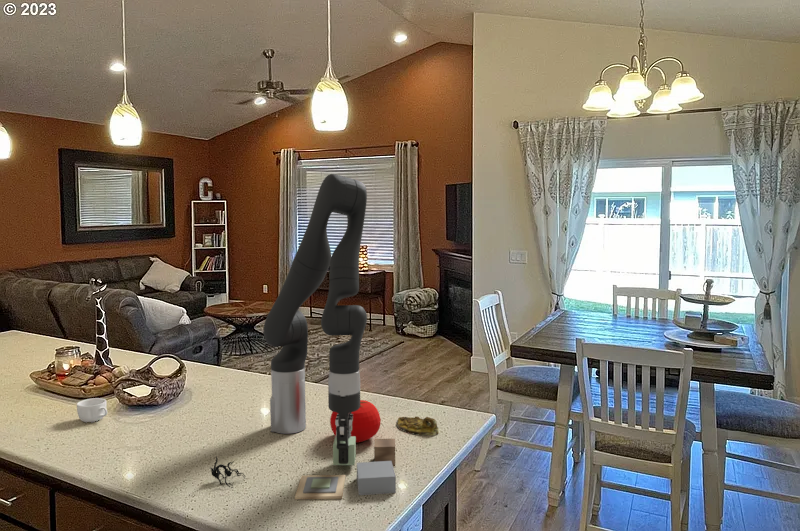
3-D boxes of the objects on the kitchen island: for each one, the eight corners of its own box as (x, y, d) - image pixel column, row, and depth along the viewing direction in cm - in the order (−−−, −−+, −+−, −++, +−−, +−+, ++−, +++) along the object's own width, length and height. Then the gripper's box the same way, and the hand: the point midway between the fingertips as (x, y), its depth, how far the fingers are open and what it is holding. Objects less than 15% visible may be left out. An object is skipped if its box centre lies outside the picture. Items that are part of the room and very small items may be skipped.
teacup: (71, 422, 170) (70, 404, 170) (94, 414, 177) (93, 396, 177) (95, 427, 166) (94, 409, 166) (118, 418, 173) (117, 400, 173)
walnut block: (374, 467, 140) (374, 446, 140) (374, 458, 145) (374, 438, 145) (395, 466, 140) (395, 446, 140) (395, 458, 145) (394, 438, 145)
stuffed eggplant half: (387, 430, 167) (428, 443, 157) (385, 414, 166) (426, 426, 156) (408, 417, 174) (448, 429, 164) (407, 402, 173) (447, 413, 163)
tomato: (321, 436, 159) (320, 398, 158) (360, 425, 167) (360, 389, 166) (349, 453, 148) (348, 413, 147) (390, 441, 156) (390, 402, 155)
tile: (294, 499, 124) (294, 494, 124) (301, 477, 134) (301, 472, 134) (342, 498, 125) (342, 493, 125) (345, 477, 135) (345, 472, 134)
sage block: (333, 465, 138) (332, 444, 137) (335, 456, 143) (335, 436, 142) (354, 465, 138) (354, 444, 137) (355, 456, 143) (355, 436, 142)
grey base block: (358, 496, 126) (358, 478, 126) (356, 479, 134) (356, 462, 134) (395, 494, 127) (395, 476, 127) (391, 477, 135) (391, 460, 135)
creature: (247, 477, 137) (213, 471, 137) (251, 455, 137) (217, 449, 136) (240, 493, 130) (204, 487, 129) (245, 470, 129) (209, 464, 129)
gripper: (331, 379, 146) (332, 445, 147) (324, 398, 131) (325, 471, 133) (362, 380, 146) (362, 446, 147) (358, 398, 131) (358, 471, 133)
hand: (344, 457), depth 140 cm, fingers closed on sage block, 5 cm apart
